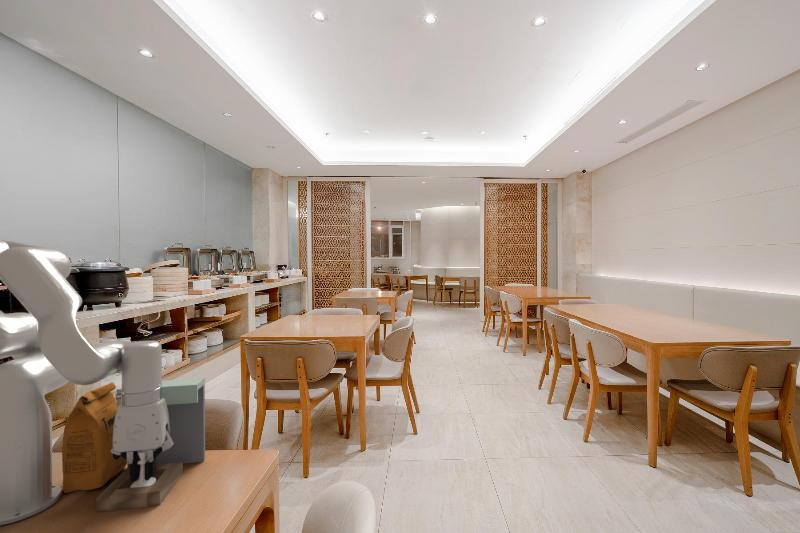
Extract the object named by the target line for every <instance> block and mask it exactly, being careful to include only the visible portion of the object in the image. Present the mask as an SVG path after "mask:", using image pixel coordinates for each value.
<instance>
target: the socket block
mask: <svg viewBox="0 0 800 533" xmlns="http://www.w3.org/2000/svg"><path fill="white" fill-rule="evenodd" d="M183 464H184V463H183V462H178V463H167V464H157V465H156V472H155V473H154V475H153V476H152V477H154V478H155V479H156V482H155V483H154V485H153V486H144V487H134V488H130V487H131V485H132V484H133V483H134V482H136V481H137V480H138V479H139V478H138V479H137V480H136V481H134V482H131V476H130V467H128V468H127V467H126V469H125V470H123V472H121V474H120V475H119V476H117V478H116V479H115V480H113V481H112V483H110V484H109V486H107V487H106V488H105V489H104V490H103V491H102V492H101V493H100V494H99V495H98V496H97V497H96V498H95V499H96V500H95V501H96V513H102V512H109V511H119V510H129V509H137V508H144V507H145V508H147V507H154V506H155V507H156V506H161V504H162V503H163V502H164V501H165V499H166V497H167V496H168V495H169V494H170V492H171V491H172V490H173V488H174V487H175V485H176V484H177V482H179V480H180V479H181V477H182V476H183V475H184V465H183Z"/></svg>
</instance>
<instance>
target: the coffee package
mask: <svg viewBox="0 0 800 533" xmlns="http://www.w3.org/2000/svg"><path fill="white" fill-rule="evenodd" d="M115 389H117V386H116V385H115V383H114V382H113V381H112V382H109V383H107V384H104V385H103V386H100V387H98V388H95V389H93V390H90V391H88V392H87V393H85V394H83V395H81V396H80V397H79V398H78V400H77V402H76V404H75V405H74V406H73V408H72V410H71V412H70V413H69V414H68V417H67V418H66V421H65V423H64V428H63V433H62V448H61V449H62V450H61V460H62V461H61V464H62V465H61V466H62V469H61V470H62V493H63V494H68V493H71V492H72V493H73V492H77V491H83V490H84V491H91V490H95V489H99V488H102V487H103V486H104V485H106V483H107V482H108V481H109V480H110V481H111V479H112V478H114V476H116V475H118V474H119V472H121V471H122V470H123V469H124V468H125V467H126V466H127V460H125V459H124V458H123V457H122V456H121V455H117V454H113V453H112V452H111V450H112V438H113V427H114V420H115V415H116V411H117V399H116V398H115V395H114V393H112V391H114V390H115Z"/></svg>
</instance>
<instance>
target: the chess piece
mask: <svg viewBox="0 0 800 533" xmlns="http://www.w3.org/2000/svg"><path fill="white" fill-rule="evenodd" d="M138 455H139V457H140V459H141V460H139V461H138V464H141V467H140V475H139V479H138V480H137V481H136V482H134V483H133V484H132V485H131V487H130V488H134V487H144V486H153V485H154V483H155V482H156V479H155V478H154V477H151V478H150V479H149V480H145V463H146V462H147V458H146V457H147V450H144V451H138Z"/></svg>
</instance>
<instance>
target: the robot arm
mask: <svg viewBox="0 0 800 533" xmlns="http://www.w3.org/2000/svg"><path fill="white" fill-rule="evenodd" d="M71 271H72V264H71V261H70V259H69V258H68V257H67V256H66V255H65V254H64V253H63V252H62V251H60V250H57V249H54V248H50V247H49V248H48V247H44V246H37V245H31V244H26V243H21V242H15V241H10V240H6V239H5V240H4V239H0V281H1V282H2V283H3V284H4V286H5V287H6V288H7V289H8V290H9V291H10V293H12V295H13V296H14V297H15V298H16V299H17V300H18V302H20V304H21V305H22V306H23V307H24V309H26V311H27V312H13V313H11V312H10V313H4V312H3V311H2V310H0V360H2V359H5V358H9V357H12V360H8V361H5V362H3V363H2V364H0V526H4V525H8V524H13V523H16V522H18V521H22V520H25V519H27V518H30V517H33V516H34V515H37V514H39V513H41V512H43V511H45V510H46V509H48V508H49V507H51V506H53V505H54V504H55V503H56V502H57V501H59V499H60V498H61V497H62V494H63V487H61V486H59V485H57V484H53V420H52V419H53V418H52V412H51V409H50V406H49V404H48V403H47V400H46V398H45V397H46V396H45V395H47V394H49V393H52V392H53V391H55V390H57V389H60V388H62V387H63V386H66V384H68V383H69V382H70V383H72V384H74V385H78V386H89V385H94V384H96V383H98V382H100V381H102V380H104V379H106V378H108V377H111V376H114V375H116V374H117V373H120V372H121V387H122V391H121V393H117V392H116V394H115V395H114V398H115V400H117V399H120V400H121V403H122V404H121V405H119V406H118V407H117V411H116V415H115V420H114V427H113V438H112V450H111V452H112V453H113V454H117V455H121V456H122V457H123V458H124V459H125V460H127V463H128V464H129V466H130V476H131V482H134V481H136V480H137V479H138V478H139V475H140V467H141V464H138V461H139V460H141V459H140V457H139V455H138V451H144V450H147V462H146V463H145V480H149V479H150V478H151V477H152V476H153V475H154V473H155V472H156V457H157V456H158V455H159V454H160V453H161V452H163V451H165V450H167V449H169V448H171V447H172V446H173V444H174V443H173V441H172V439H171V437H170V422H169V414H168V408H167V404H166V401H165V399H164V398H162V381H163V356H162V355H163V352H162V344H161V343H160V342H159V341H156V340H140V341H124V340H123V341H121V340H108V341H104V342H100V343H97V344H95V345H92V344H90V343H89V341H87V339H86V338H85V337H84V335H83V334H82V333H81V331H80V330H79V328H78V325H77V321H76V318H77V317H76V316H77V312H78V310H79V308H80V307H81V306H82V304H83V298H82V297H81V295H80V294H79V293H78V292H77V291H76V289H75V288H74V287H73V286H72V285H71V284H70V282H69V281H68V280H67V278H68V277H69V276H70V274H71Z"/></svg>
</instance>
